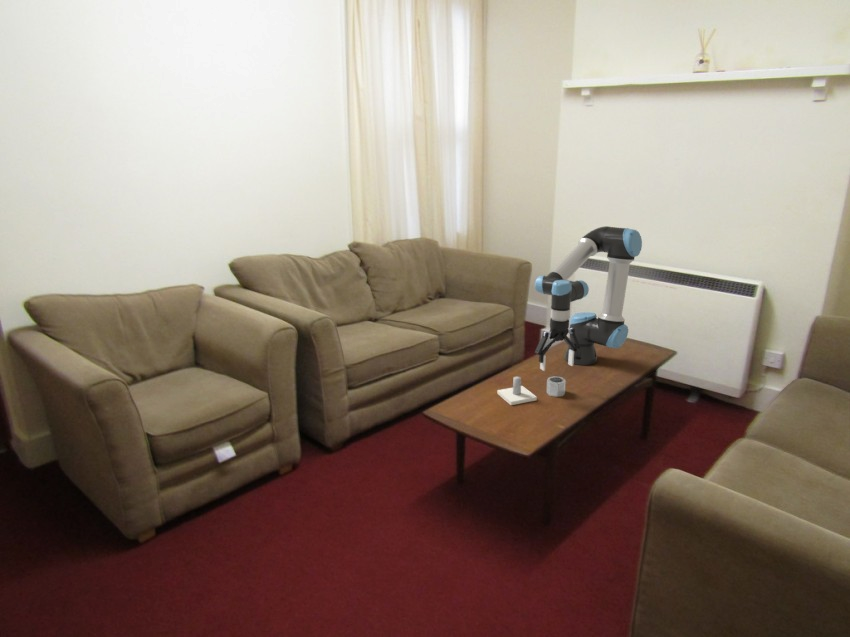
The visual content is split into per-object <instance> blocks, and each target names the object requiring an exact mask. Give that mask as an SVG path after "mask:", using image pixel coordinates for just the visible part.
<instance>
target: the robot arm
mask: <svg viewBox="0 0 850 637" xmlns="http://www.w3.org/2000/svg"><path fill="white" fill-rule="evenodd" d="M642 247H643V240H642V235H641V234H640V232H639V231H638V230H637V229H634V228H633V229H632V228H628V227H627V228H626V227H615V226H614V227H613V226H601V227H597V228H595V229H593V230H591V231H589V232H588V233H586V234H584V236H582V237H581V238H580V239H579V241H578V243H577V245H576V246H575V247H574V248H573V250H571V251H570V252H569V253H568V255H566V256H565V257H564V259H562V260H561V261H560V263H558V264H557V265H556V266H555V267H554V268H553V269H552V270H551V271H550V272H549V273H548V274H547V275H538V277H536V279H535V282H534V289H535V291H536V292H537V293H540V294H543V295H548V296H551V303H550V319H549V328H550V330H549V331H545V330H543V331H542V335H541V338H540V340H539V342H538V344H537V346H536V348H535V351H534V353H535V354H536V355H538V362H539V369H540V370H542V371H543V372H545V371H546V359H547V357H546V356H547V355H546V354H547V352H548V350H550V348H552V347H551V346H552V345H553V344H554V343H556V342H559V341H564V342H565V344H566V345H567V348H566V351H565V352H564V360H565V361H566V362H567V364H568V365H569V366H571V367H574V365H578V366H588V365H594V364H595V363H596V362H597V360H598V355H597V351H596V348H595V344H597V345H599V346H603V347H607V348H611V349H618V348H620V347H621V346H623V344H625V342H626V340H627V338H628V335H629V334H628V333H629V327H628V325H627V324H625V320H626V319H625V318H624V316H623V310H624V303H625V297H626V291H627V285H628V280H629V279H628V277H629V270H630V265H631V263H632V262H633V261H635V257H638V256H639V255H640V254H641V252H642ZM598 253H606V256H607V257H606V258H607V259H608V261H609V266H608V271H607V272H608V273H607V280H606V286H605V294H604V300H603V306H602V312H601V314H599V315H598V318H597V314H596V313H594V312H589V311H587V312H586V311H585V312H578V313H574V314H572V315H570V314H571V313H570V312H571V303H573V302H576V301H578V300H582V299H583V298H585V297H587V296H588V294H589V291H590V288H589V285H588V283H587V282H586V281H584V280H575V281H573V280H569V279H570V278H571V277H572V276H573V274H575V272H577V271H578V270H579V269H580V268H581V267H582V265H584V264H585V263H586V261H587V260H588V259H590V258H591V257H594V256H595V255H597V254H598ZM570 316H571V317H570ZM568 334H569V337H568V336H567V335H568Z"/></svg>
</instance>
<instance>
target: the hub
mask: <svg viewBox="0 0 850 637" xmlns="http://www.w3.org/2000/svg"><path fill="white" fill-rule="evenodd" d="M566 382H567V381H566V379H565V378H563V376H556V375H555V376H554V375H553V376H549V377H548V378H547V379H546V394H547V395H548V396H549V397H550V396H551V397H556V398H558V397H563V396H565V394H566V384H567V383H566Z"/></svg>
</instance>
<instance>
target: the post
mask: <svg viewBox="0 0 850 637" xmlns="http://www.w3.org/2000/svg"><path fill="white" fill-rule="evenodd" d="M512 379H513V380H512V381H513V383H512V387H507V388H502V389H497V391H496V392H497V395H498V396H500V398H502V399H503V400H504V401H505V402H507V404H509V405H510V406H513V405H519V404H520V405H521V404H524V403H530V402H534V401H538V399H537V398H538V396H536V395H535V394H534V393H533V392H531V391H530V390H528V389H527V388H526V387H525V386H523V385H522V377H521V376H513V378H512Z"/></svg>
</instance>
